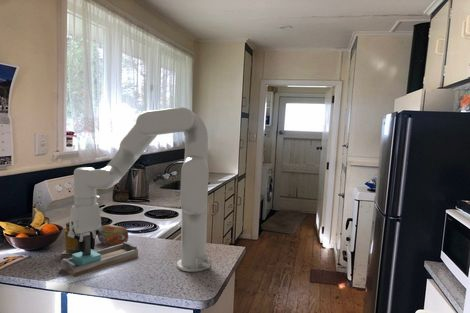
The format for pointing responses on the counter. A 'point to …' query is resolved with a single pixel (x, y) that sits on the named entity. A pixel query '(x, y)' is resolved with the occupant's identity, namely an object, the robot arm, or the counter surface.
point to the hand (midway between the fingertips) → (86, 249)
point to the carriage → (86, 253)
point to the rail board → (102, 259)
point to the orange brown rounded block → (113, 235)
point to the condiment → (70, 242)
